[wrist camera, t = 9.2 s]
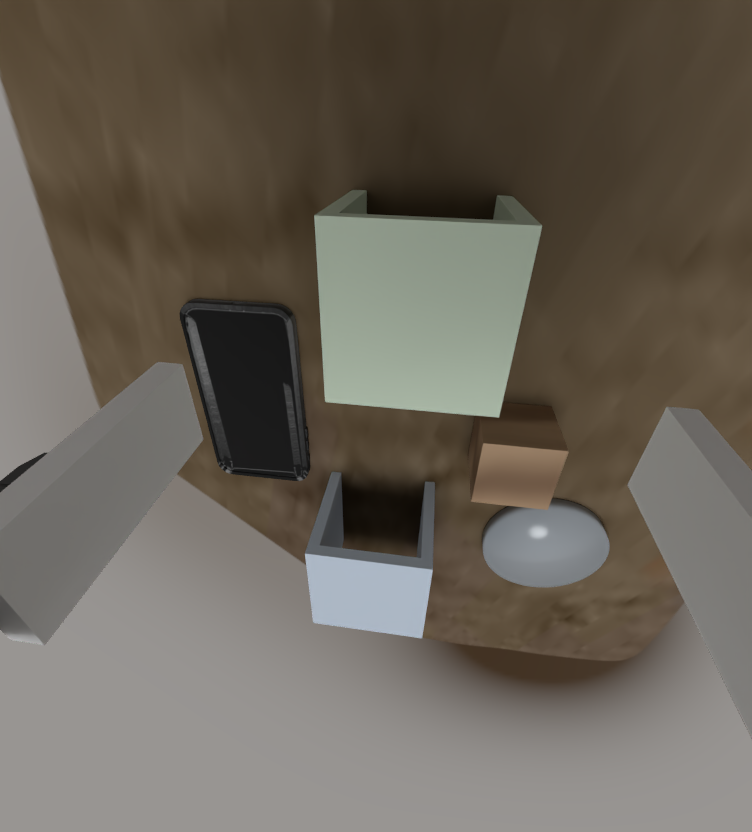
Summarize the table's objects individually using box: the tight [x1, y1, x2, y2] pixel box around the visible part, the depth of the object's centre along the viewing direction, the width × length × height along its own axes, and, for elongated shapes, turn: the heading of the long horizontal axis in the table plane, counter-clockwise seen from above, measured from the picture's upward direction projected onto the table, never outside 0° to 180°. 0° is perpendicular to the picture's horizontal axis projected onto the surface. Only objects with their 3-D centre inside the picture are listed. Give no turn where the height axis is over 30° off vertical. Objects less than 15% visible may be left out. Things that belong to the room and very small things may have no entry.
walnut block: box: [468, 402, 569, 510], centre depth 29 cm, size 5×5×5 cm
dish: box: [482, 498, 609, 587], centre depth 36 cm, size 10×10×1 cm
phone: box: [180, 299, 310, 481], centre depth 32 cm, size 8×1×15 cm
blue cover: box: [305, 472, 435, 638], centre depth 34 cm, size 9×9×8 cm
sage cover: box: [314, 190, 542, 418], centre depth 22 cm, size 9×9×8 cm
